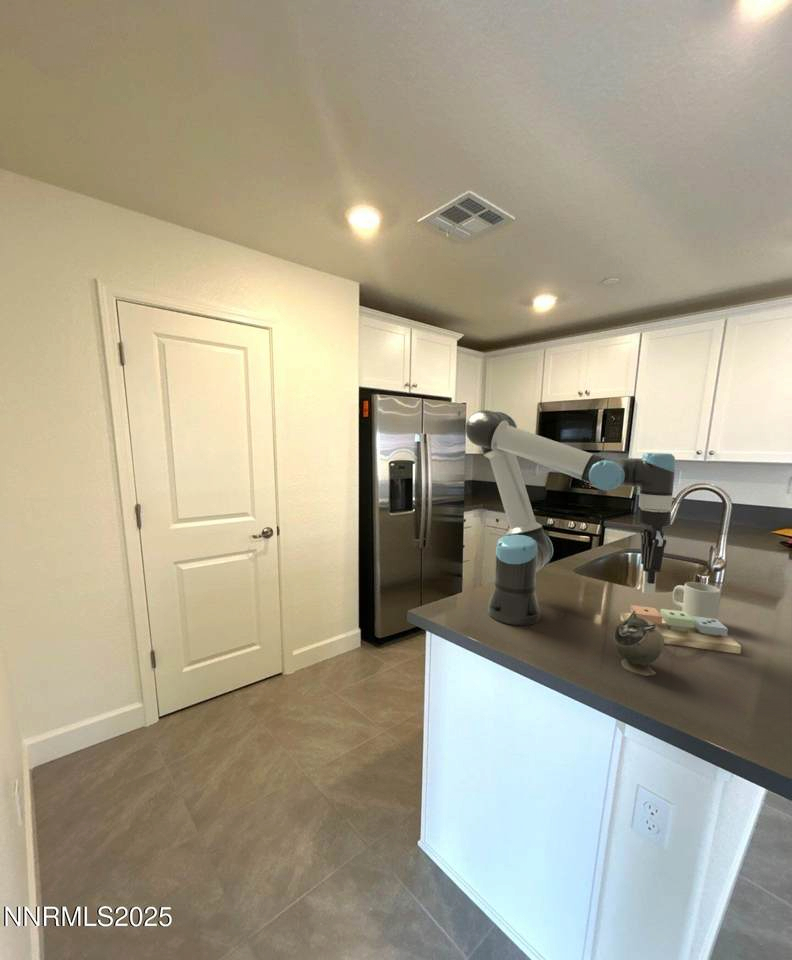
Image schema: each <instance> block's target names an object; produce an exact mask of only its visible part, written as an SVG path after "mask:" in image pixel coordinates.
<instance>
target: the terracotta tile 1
mask: <svg viewBox="0 0 792 960" xmlns="http://www.w3.org/2000/svg"><path fill="white" fill-rule="evenodd" d="M633 611H635V614H637V615H636V616H637V617H639V618H642V619H645V620H647V621H649V622H651V623H653V624H654V623H659V624H662V616H661V615H660V612H659V611H658V610H657V608H656V607H649V606H640V605H632V604H631V605H630V613H633Z"/></svg>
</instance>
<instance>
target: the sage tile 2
mask: <svg viewBox="0 0 792 960" xmlns="http://www.w3.org/2000/svg"><path fill="white" fill-rule="evenodd" d="M659 614H660V615H661V616H662V618H663V619H664V621H665V622H666V623H667V624H666V625H667V626H668V628H669V629H670V630H673V631H680V632H686V627H691V628H694V623H695V621H694V620H693V619H692V618H691V617H690V616H689V615H688V614H687V613H686V612H685V611H682V610H675V609H674V610H673V609H666V608H660V612H659Z"/></svg>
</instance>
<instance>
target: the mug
mask: <svg viewBox="0 0 792 960" xmlns="http://www.w3.org/2000/svg"><path fill="white" fill-rule="evenodd" d="M679 591H682V592H683V598H682V602H681V601H680V600H679V598H678V593H679ZM721 593H722V592H721V589H720V588H718V587H716V586H714V585H711V584H707V583H702V582H695V581H691V582H690V581H687V582H685V583H684V585H682V584H681V585H680V584H679V585H676V586H675V587H674V588H673V591H672V601H673V603H674V605H675V606H677V607H678V608H681V611H685V612H686V613H687V614H688V615H689V616H690V617H691V616H696V617H704V618H712V619H717V620H718V621H719V613H720V603H721Z"/></svg>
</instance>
